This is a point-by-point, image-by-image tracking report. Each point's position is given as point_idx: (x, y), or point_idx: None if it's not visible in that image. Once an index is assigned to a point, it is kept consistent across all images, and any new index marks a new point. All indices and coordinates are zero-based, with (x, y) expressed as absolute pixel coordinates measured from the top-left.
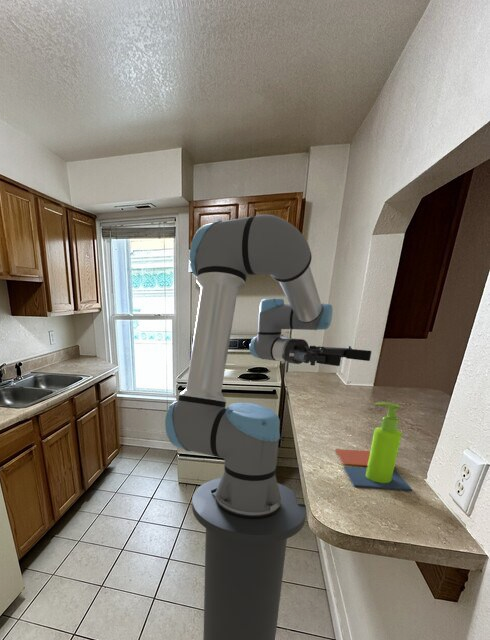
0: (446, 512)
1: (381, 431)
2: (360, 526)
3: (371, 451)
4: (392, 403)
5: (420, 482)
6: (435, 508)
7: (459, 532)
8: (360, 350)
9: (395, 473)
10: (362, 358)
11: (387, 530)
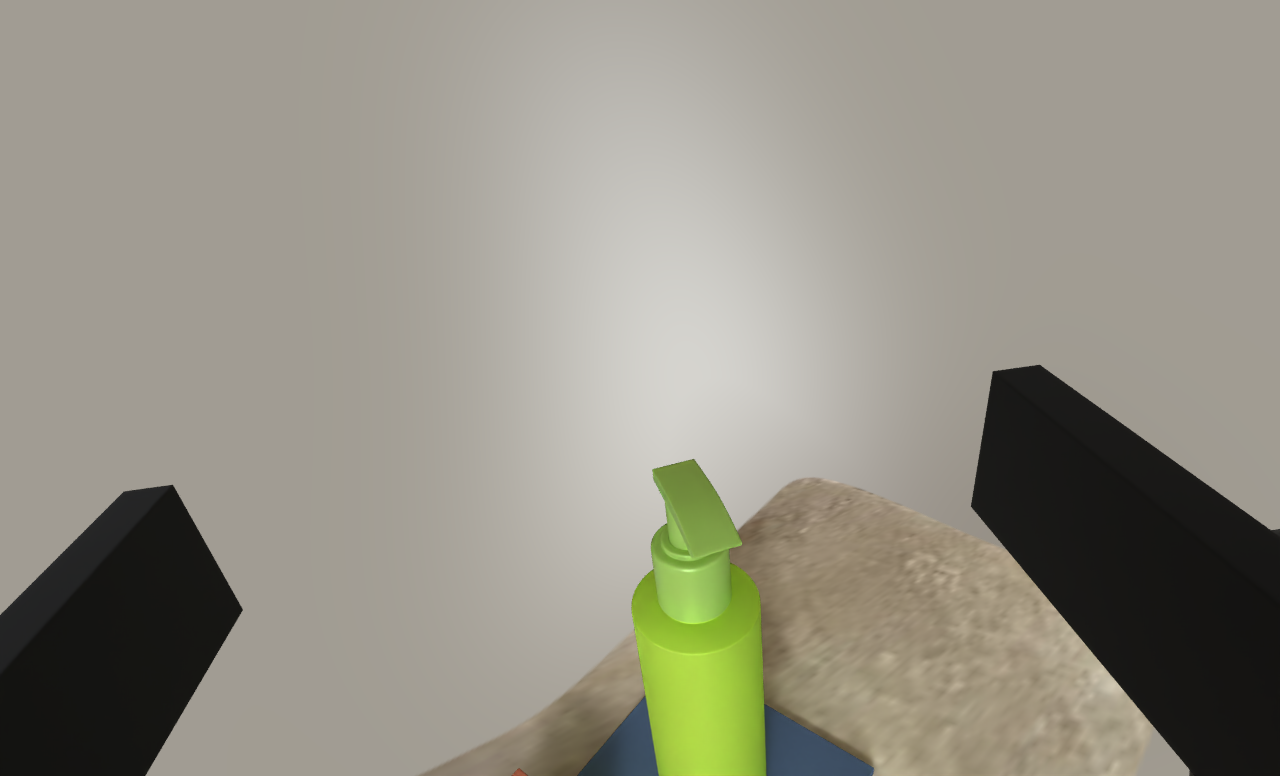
0: None
1: (744, 598)
2: (1026, 589)
3: (756, 709)
4: (670, 488)
5: (580, 689)
6: None
7: (773, 509)
8: (50, 627)
9: (600, 767)
10: (179, 674)
11: (952, 558)
